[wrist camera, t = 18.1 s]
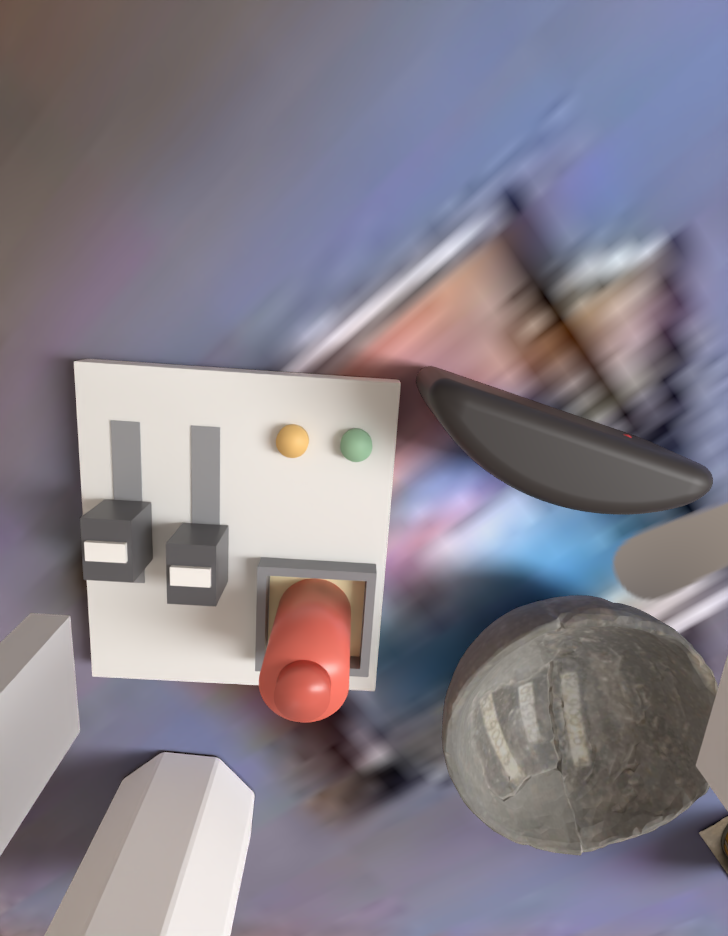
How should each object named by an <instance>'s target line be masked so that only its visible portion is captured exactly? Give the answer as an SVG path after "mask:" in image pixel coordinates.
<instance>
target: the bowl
mask: <svg viewBox="0 0 728 936" xmlns="http://www.w3.org/2000/svg"><path fill="white" fill-rule="evenodd" d="M717 690H718V685H717V682H716V680H715V677H714V674H713V671H712V670H711V669H710V668H709V667H708V666H707V664H706V663H705V662H704V660H703V658H702V657H701V655H700V654H699V653H698V652H696V651H695V649H694V648H693V646H692V645H691V644H690V643H689V642H688V641H687V640H686V639H685V638H684V637H683V636H681V635H680V634H679V633H678V632H677V631H676V630H675V629H673V628H671V627H670V626H668V625H666V624H665V623H663V622H661V621H659V620H657V619H656V618H654V617H652V616H651V615H649V614H647V613H645V612H643V611H641V610H639V609H637V608H634V607H631V606H628V605H624V604H620V603H612V602H610V601H607V600H605V599H602V598H598V597H593V596H565V597H555V598H550V599H545V600H542V601H537V602H534V603H530V604H527V605H524V606H521V607H518V608H515V609H513V610H511V611H510V612H508V613H506V614H504V615H503V616H501V617H500V618H498V619H497V620H495V621H494V622H493V623H491V624H490V625H489V626H488V627H487V628H486V629H485V630H484V631H482V633H481V634H480V635H479V636H478V637H477V638H476V639H475V640H474V641H473V643H472V644H471V645H470V646H469V647H468V649H467V650H466V652H465V653H464V655H463V656H462V658H461V659H460V661H459V663H458V665H457V667H456V670H455V672H454V674H453V677H452V680H451V682H450V685H449V687H448V690H447V693H446V697H445V702H444V709H443V723H442V747H443V753H444V757H445V761H446V765H447V769H448V772H449V775H450V777H451V779H452V781H453V783H454V785H455V787H456V789H457V791H458V793H459V794H460V796H461V798H462V800H463V801H464V803H465V804H466V805H467V807H468V808H469V809H470V810H471V811H472V812H473V813H474V814H475V815H476V816H477V817H478V818H479V819H480V820H481V821H482V822H484V823H485V824H486V825H487V826H488V827H490V828H491V829H492V830H493V831H495V832H497V833H498V834H500V835H502V836H504V837H505V838H507V839H509V840H511V841H513V842H515V843H519V844H522V845H530V846H532V847H534V848H537V849H541V850H545V851H550V852H554V853H562V854H572V855H581V854H582V852H590V851H594V850H596V849H598V848H603V847H605V846H607V845H609V844H612V843H618V842H622V841H625V840H628V839H631V838H635V837H637V836H640V835H643V834H646V833H649V832H651V831H654V830H656V829H657V828H658V827H659V826H662V825H665V824H667V823H668V822H670V821H671V820H673V819H674V818H676V817H677V816H678V815H679V814H681V813H682V812H684V811H685V810H687V809H688V808H689V807H690V806H691V805H692V804H693V803H694V802H695V801H696V800H697V799H698V798H699V797H701V796H703V795H704V794H706V792H707V791H708V789H709V787H710V785H709V784H708V783H707V781H706V780H705V778H704V777H703V775H702V774H701V773H700V771H699V770H698V768H697V767H696V763H697V759H698V756H699V752H700V749H701V745H702V742H703V739H704V735H705V732H706V728H707V725H708V721H709V718H710V714H711V711H712V708H713V704H714V701H715V697H716V694H717Z"/></svg>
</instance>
